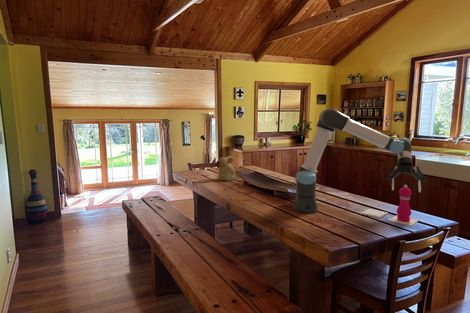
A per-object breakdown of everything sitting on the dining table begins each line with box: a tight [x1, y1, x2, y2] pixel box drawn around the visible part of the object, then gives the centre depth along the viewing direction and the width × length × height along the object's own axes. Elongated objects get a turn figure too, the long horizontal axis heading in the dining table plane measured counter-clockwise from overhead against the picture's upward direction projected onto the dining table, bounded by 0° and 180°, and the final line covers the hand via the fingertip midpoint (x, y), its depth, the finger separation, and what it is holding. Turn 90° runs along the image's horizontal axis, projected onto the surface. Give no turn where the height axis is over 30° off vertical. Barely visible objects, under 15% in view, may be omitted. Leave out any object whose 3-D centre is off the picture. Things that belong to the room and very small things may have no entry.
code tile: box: [387, 214, 420, 227], centre depth 178 cm, size 12×12×1 cm
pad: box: [360, 208, 389, 219], centre depth 189 cm, size 11×11×1 cm
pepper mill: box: [396, 184, 412, 222], centre depth 176 cm, size 7×7×20 cm
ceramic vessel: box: [217, 151, 236, 182], centre depth 291 cm, size 17×20×25 cm
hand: (406, 190), depth 181 cm, fingers open, 13 cm apart
